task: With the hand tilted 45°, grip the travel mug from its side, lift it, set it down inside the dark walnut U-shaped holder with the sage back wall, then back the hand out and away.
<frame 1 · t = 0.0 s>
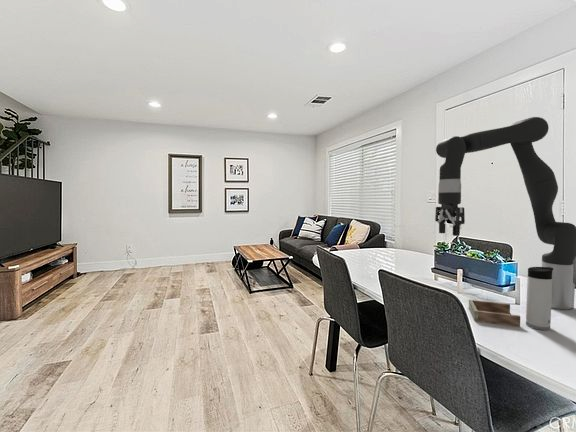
hand: (448, 234, 112), 29 cm above the table, tool pointing down, fingers open, 8 cm apart
travel mug: (538, 327, 98), on the table
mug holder: (492, 316, 107), on the table
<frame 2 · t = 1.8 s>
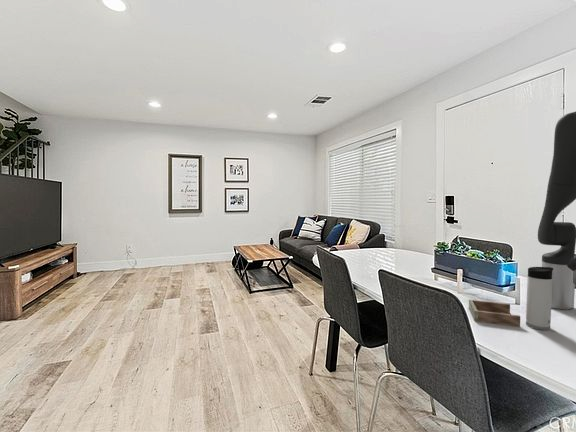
hand: (570, 266, 95), 21 cm above the table, tool tilted 40°, fingers open, 8 cm apart
nothing on the table moved.
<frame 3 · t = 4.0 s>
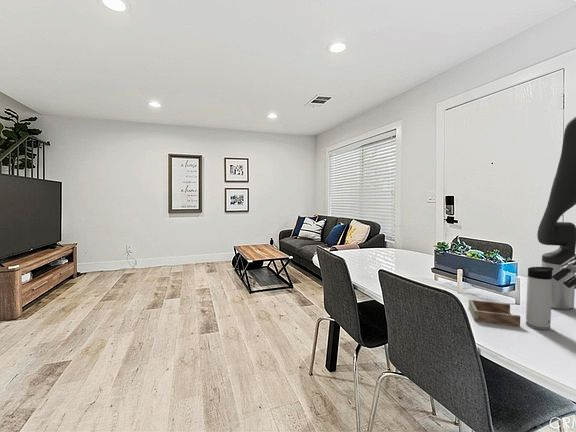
hand: (559, 282, 96), 16 cm above the table, tool tilted 45°, fingers open, 8 cm apart
nothing on the table moved.
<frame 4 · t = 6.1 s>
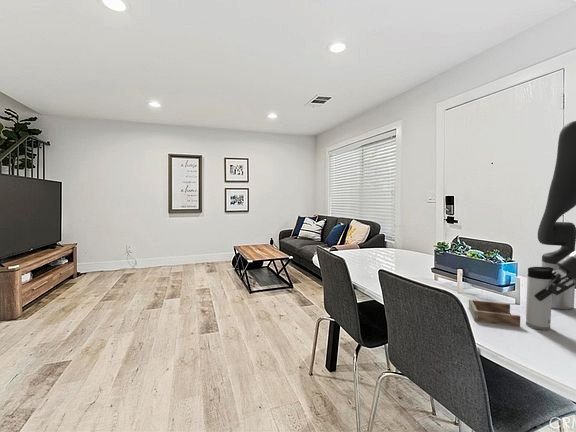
hand: (533, 295, 99), 10 cm above the table, tool tilted 45°, fingers closed on travel mug, 6 cm apart
travel mug: (538, 327, 98), on the table, touching gripper
everything else where it was.
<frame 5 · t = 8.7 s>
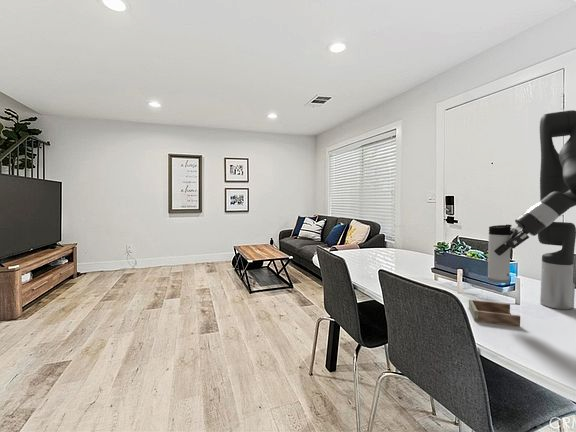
hand: (494, 251, 105), 24 cm above the table, tool tilted 45°, fingers closed on travel mug, 6 cm apart
travel mug: (498, 281, 105), point 13 cm above the table, touching gripper
everything else where it was.
when the fingers open (12 cm above the table, at t = 11.7 s): travel mug drops 1 cm, resting on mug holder.
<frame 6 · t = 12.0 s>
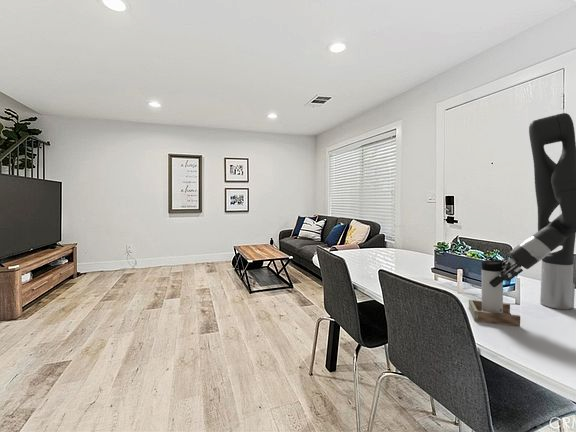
hand: (488, 281, 107), 13 cm above the table, tool tilted 45°, fingers open, 8 cm apart
travel mug: (492, 315, 107), resting on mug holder
everything else where it was.
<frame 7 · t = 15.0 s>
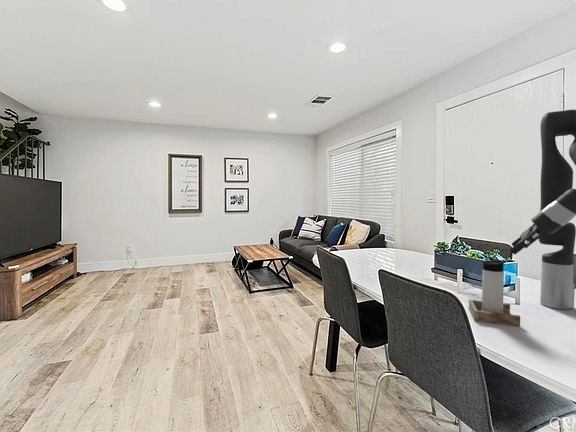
hand: (512, 249, 108), 24 cm above the table, tool tilted 40°, fingers open, 8 cm apart
nothing on the table moved.
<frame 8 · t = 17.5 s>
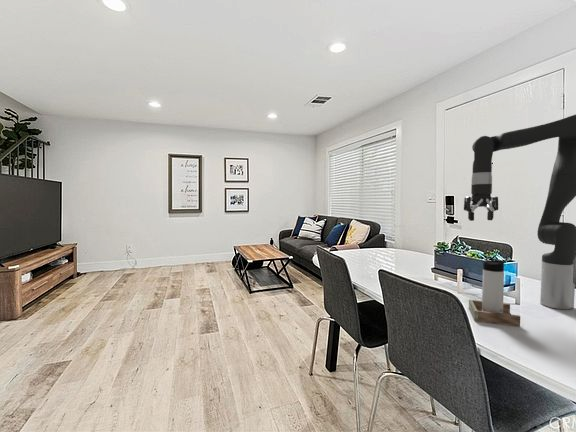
hand: (480, 220, 130), 33 cm above the table, tool pointing down, fingers open, 8 cm apart
nothing on the table moved.
at the end: travel mug inside the target area on the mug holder (0.2 cm from its centre), point 0.3 cm above the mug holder's base; travel mug tilted 0°; the gripper is holding nothing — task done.
